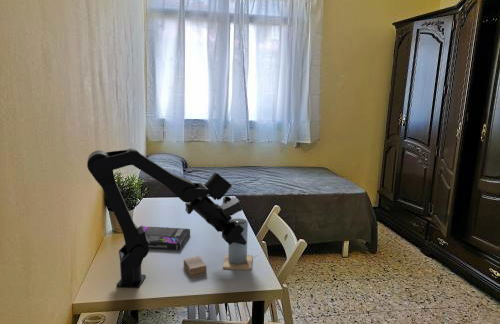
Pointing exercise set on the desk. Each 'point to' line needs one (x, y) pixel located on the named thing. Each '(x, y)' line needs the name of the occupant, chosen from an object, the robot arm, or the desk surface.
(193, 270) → the walnut block
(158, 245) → the box
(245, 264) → the coaster
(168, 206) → the desk surface
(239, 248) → the tumbler
